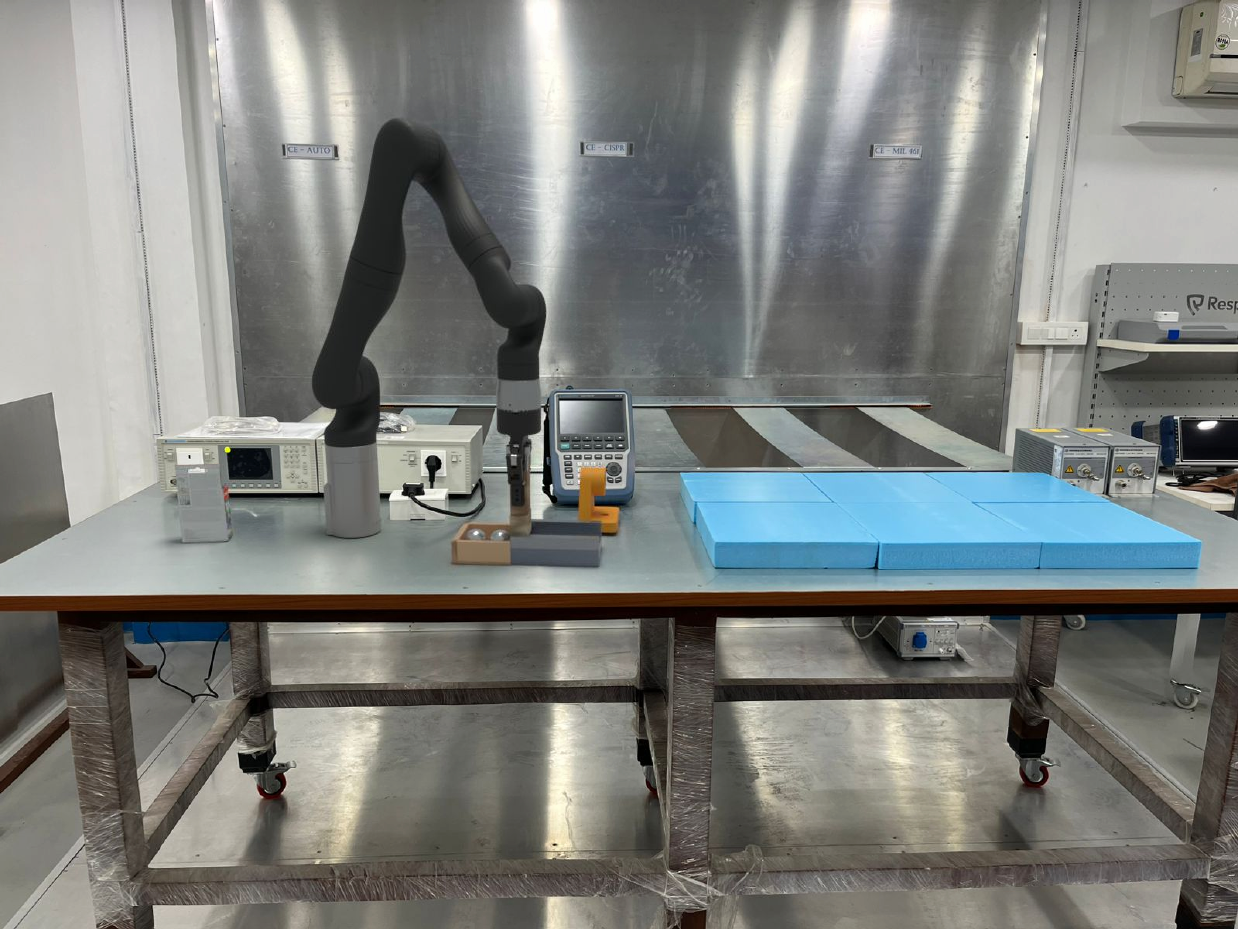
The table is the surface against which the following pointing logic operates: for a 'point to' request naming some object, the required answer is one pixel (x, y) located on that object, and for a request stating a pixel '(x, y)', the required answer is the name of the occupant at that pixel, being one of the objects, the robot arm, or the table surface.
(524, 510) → the tall wooden post
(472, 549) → the tray
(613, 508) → the bracket
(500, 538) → the ball
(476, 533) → the ball
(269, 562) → the table surface
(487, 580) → the table surface
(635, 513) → the table surface
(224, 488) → the ink box
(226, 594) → the table surface
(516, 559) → the slot rail
